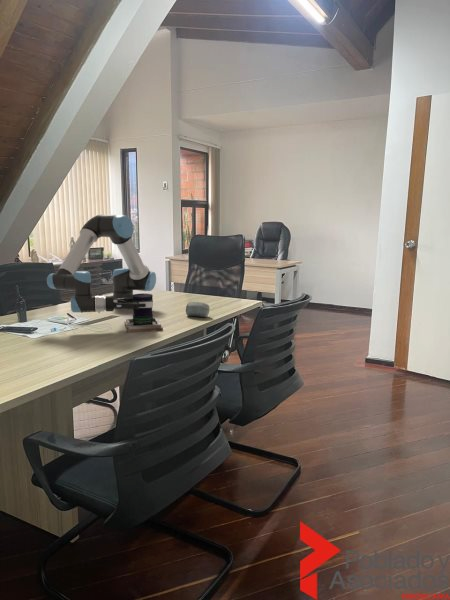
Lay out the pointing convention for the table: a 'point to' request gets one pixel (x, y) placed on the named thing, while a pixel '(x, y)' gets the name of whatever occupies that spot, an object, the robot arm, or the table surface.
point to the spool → (197, 309)
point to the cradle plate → (143, 326)
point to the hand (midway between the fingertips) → (150, 302)
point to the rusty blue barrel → (142, 310)
